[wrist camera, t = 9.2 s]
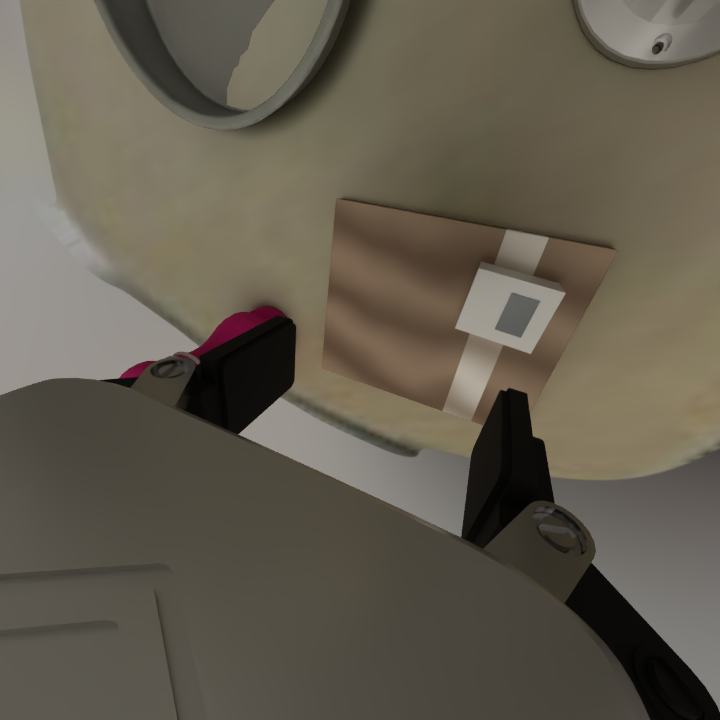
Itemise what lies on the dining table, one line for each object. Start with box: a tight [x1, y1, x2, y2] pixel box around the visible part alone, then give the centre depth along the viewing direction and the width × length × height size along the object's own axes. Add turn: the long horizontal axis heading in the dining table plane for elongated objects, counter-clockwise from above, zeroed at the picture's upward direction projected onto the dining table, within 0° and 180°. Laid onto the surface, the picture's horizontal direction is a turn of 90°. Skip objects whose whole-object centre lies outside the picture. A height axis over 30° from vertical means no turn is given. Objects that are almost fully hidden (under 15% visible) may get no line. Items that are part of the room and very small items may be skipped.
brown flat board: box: [322, 199, 618, 425], centre depth 30 cm, size 18×22×2 cm
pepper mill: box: [120, 306, 285, 378], centre depth 31 cm, size 7×7×20 cm
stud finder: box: [455, 261, 565, 354], centre depth 24 cm, size 5×6×3 cm
